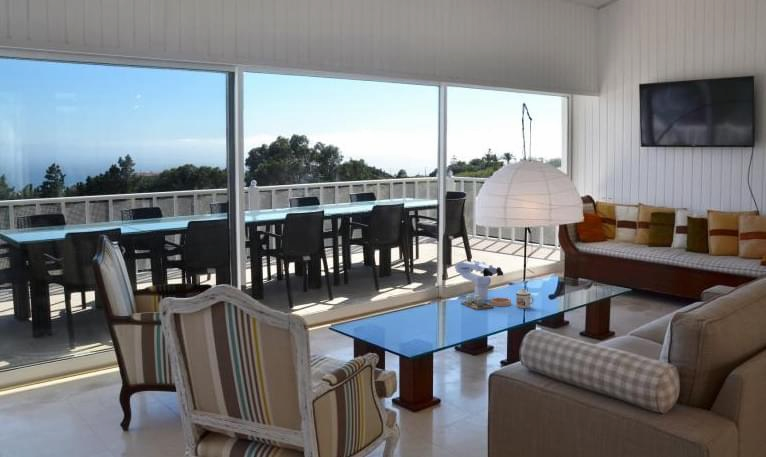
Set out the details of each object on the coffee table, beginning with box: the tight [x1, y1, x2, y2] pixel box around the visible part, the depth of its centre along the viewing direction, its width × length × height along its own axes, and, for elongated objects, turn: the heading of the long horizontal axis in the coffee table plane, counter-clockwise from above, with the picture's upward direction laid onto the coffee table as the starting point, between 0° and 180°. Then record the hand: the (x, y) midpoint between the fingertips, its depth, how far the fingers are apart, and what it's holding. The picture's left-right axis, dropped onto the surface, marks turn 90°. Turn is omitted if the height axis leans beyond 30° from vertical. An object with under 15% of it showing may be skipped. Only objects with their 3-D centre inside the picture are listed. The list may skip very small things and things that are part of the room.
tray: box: [460, 300, 495, 311], centre depth 452 cm, size 20×13×2 cm, turn 23°
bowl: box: [489, 297, 512, 307], centre depth 456 cm, size 13×13×3 cm
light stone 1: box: [465, 295, 473, 305], centre depth 455 cm, size 4×4×6 cm
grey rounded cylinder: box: [477, 298, 485, 308], centre depth 448 cm, size 4×4×6 cm
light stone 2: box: [473, 294, 480, 305], centre depth 457 cm, size 4×4×6 cm
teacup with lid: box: [515, 288, 535, 309], centre depth 448 cm, size 12×9×12 cm
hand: (497, 274), depth 452 cm, fingers open, 7 cm apart
